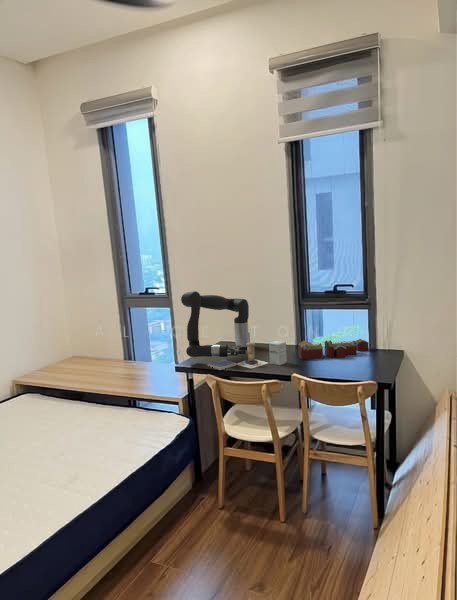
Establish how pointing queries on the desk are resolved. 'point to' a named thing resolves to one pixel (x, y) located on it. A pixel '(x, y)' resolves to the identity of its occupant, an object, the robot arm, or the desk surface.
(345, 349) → the toy houses
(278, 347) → the supplement box
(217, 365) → the ink pad
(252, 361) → the stamp
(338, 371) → the desk surface
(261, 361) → the card sheet
